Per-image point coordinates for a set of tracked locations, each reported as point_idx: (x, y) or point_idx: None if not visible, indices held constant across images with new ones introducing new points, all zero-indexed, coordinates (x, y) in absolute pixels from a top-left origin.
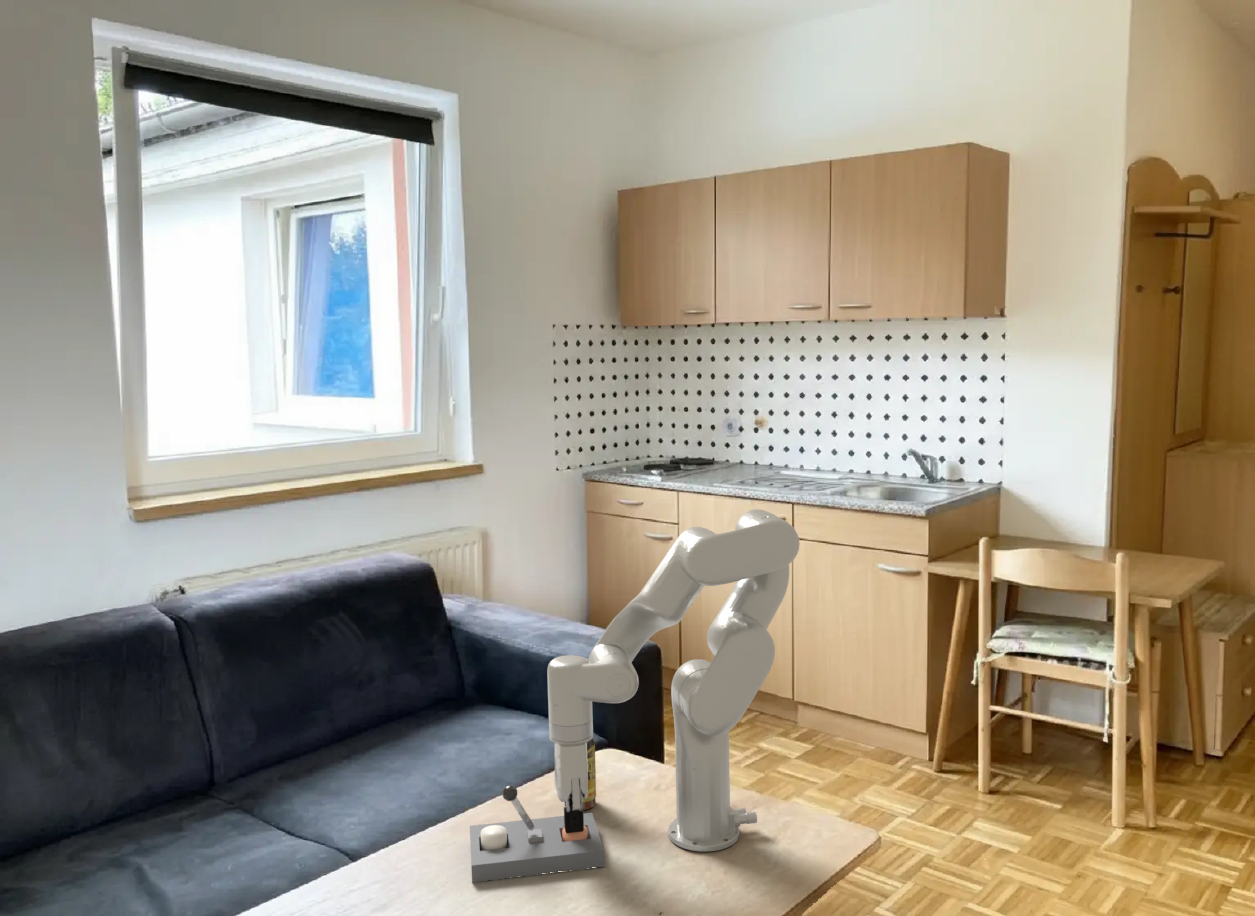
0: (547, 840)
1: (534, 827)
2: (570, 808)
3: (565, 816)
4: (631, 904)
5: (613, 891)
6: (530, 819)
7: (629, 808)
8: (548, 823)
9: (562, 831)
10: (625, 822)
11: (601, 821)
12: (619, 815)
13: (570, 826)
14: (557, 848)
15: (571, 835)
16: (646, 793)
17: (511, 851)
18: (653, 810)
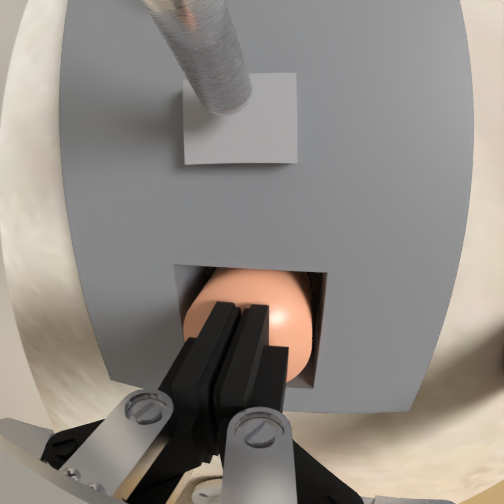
0: (197, 190)
1: (215, 114)
2: (82, 427)
3: (185, 361)
4: (24, 339)
5: (48, 327)
6: (201, 75)
7: (445, 442)
8: (401, 223)
9: (242, 286)
10: (385, 436)
11: (426, 391)
12: (428, 427)
13: (184, 343)
14: (118, 232)
15: (192, 318)
16: (476, 460)
17: (129, 15)
18: (404, 473)
